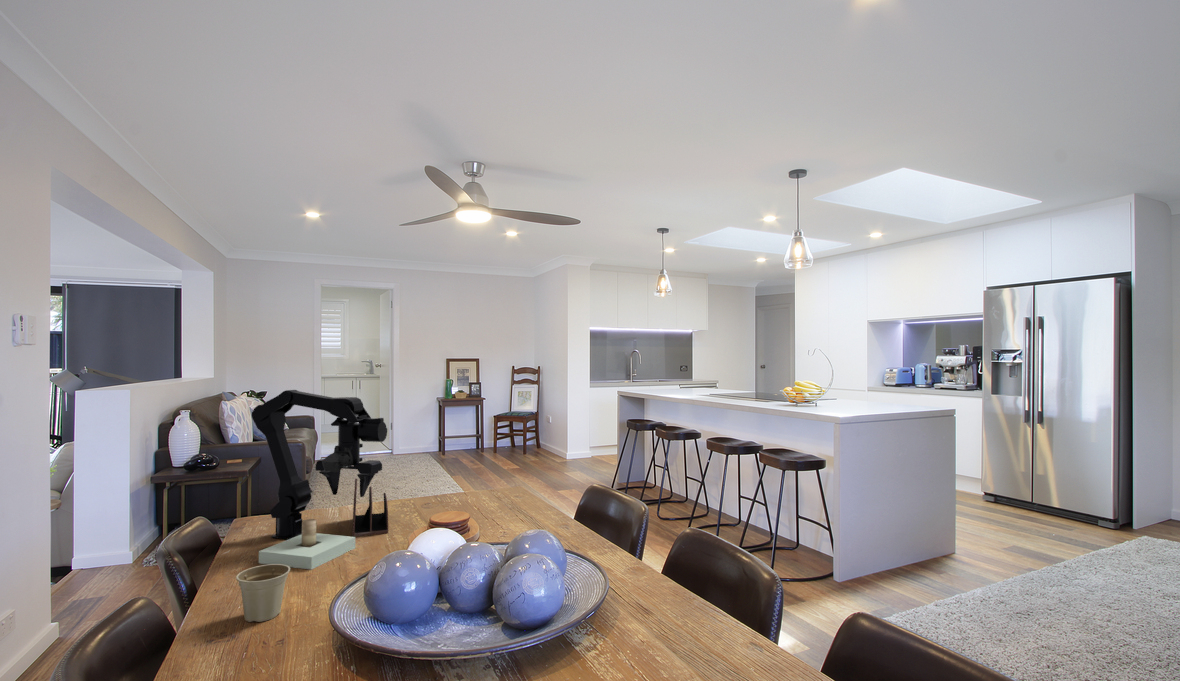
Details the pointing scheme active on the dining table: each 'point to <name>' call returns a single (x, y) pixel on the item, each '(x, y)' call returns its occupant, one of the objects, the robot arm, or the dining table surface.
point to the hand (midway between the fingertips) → (348, 495)
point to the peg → (308, 533)
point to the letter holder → (369, 518)
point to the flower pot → (262, 591)
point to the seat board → (307, 551)
